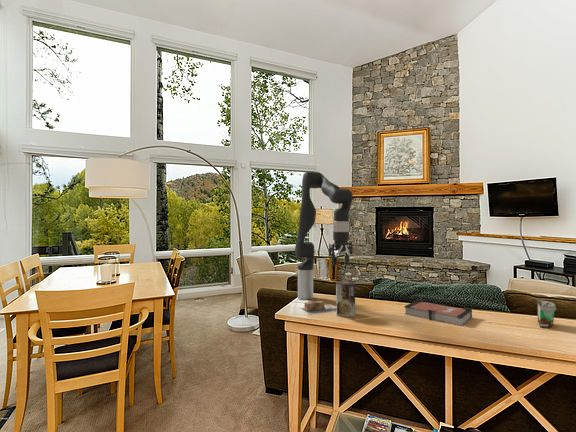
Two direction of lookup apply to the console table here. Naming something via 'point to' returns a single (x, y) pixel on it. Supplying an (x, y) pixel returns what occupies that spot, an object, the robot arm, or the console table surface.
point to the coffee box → (345, 298)
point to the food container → (546, 314)
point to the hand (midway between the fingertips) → (340, 264)
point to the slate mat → (318, 311)
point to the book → (439, 312)
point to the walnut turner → (318, 306)
